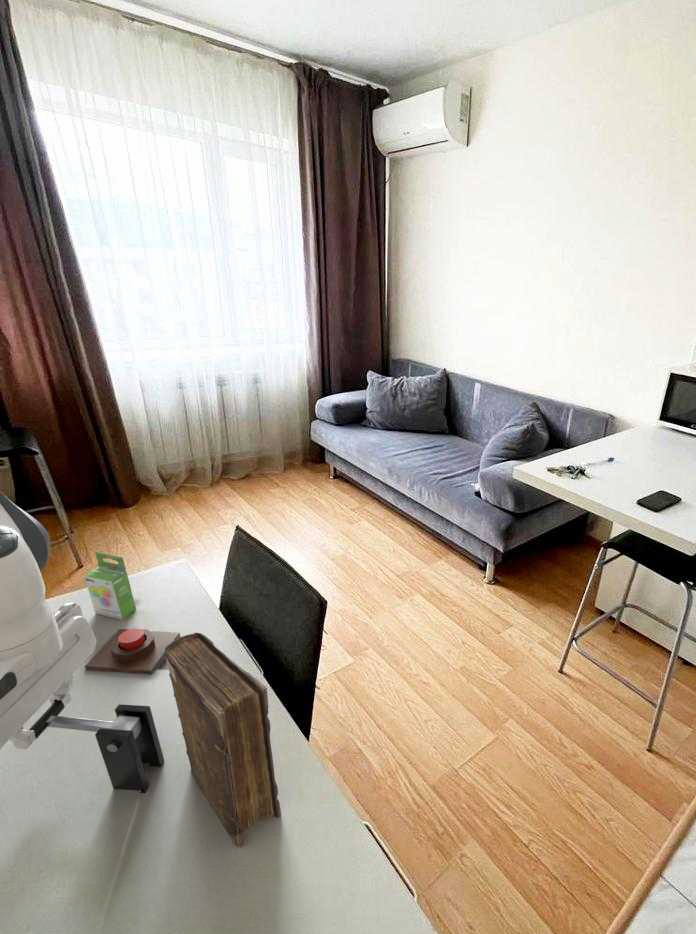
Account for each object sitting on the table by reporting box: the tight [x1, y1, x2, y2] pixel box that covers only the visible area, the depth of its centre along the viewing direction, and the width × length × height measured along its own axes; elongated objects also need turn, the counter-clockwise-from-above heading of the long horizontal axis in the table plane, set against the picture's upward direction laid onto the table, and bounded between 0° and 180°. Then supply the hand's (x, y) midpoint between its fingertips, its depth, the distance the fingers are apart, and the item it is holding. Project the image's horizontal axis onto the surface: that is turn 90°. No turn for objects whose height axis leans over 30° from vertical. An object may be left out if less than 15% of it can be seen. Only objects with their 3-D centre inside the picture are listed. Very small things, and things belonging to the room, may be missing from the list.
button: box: [118, 627, 145, 650], centre depth 92 cm, size 4×4×2 cm
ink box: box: [83, 551, 137, 621], centre depth 102 cm, size 7×4×13 cm, turn 76°
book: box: [164, 632, 282, 849], centre depth 66 cm, size 17×7×25 cm, turn 45°
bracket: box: [94, 703, 165, 794], centre depth 70 cm, size 12×9×13 cm
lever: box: [28, 702, 142, 741], centre depth 68 cm, size 13×5×2 cm, turn 89°
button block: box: [84, 628, 182, 675], centre depth 93 cm, size 12×10×4 cm
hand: (44, 723), depth 68 cm, fingers closed on lever, 5 cm apart
